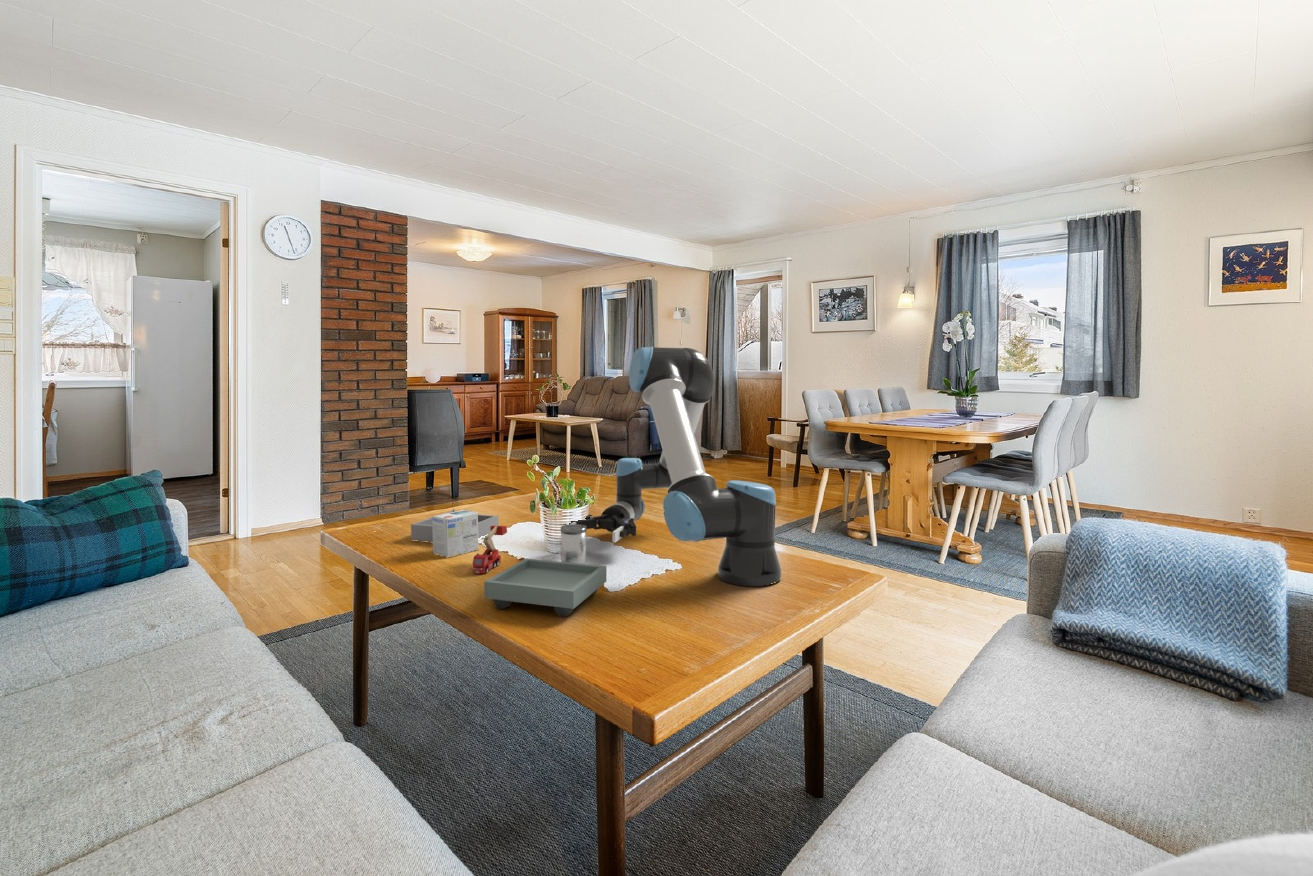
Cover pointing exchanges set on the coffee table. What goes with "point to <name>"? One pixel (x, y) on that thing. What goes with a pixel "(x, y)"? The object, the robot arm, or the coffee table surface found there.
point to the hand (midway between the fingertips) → (588, 535)
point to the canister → (573, 543)
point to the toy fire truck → (488, 552)
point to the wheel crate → (424, 528)
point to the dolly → (545, 584)
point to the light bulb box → (455, 533)
